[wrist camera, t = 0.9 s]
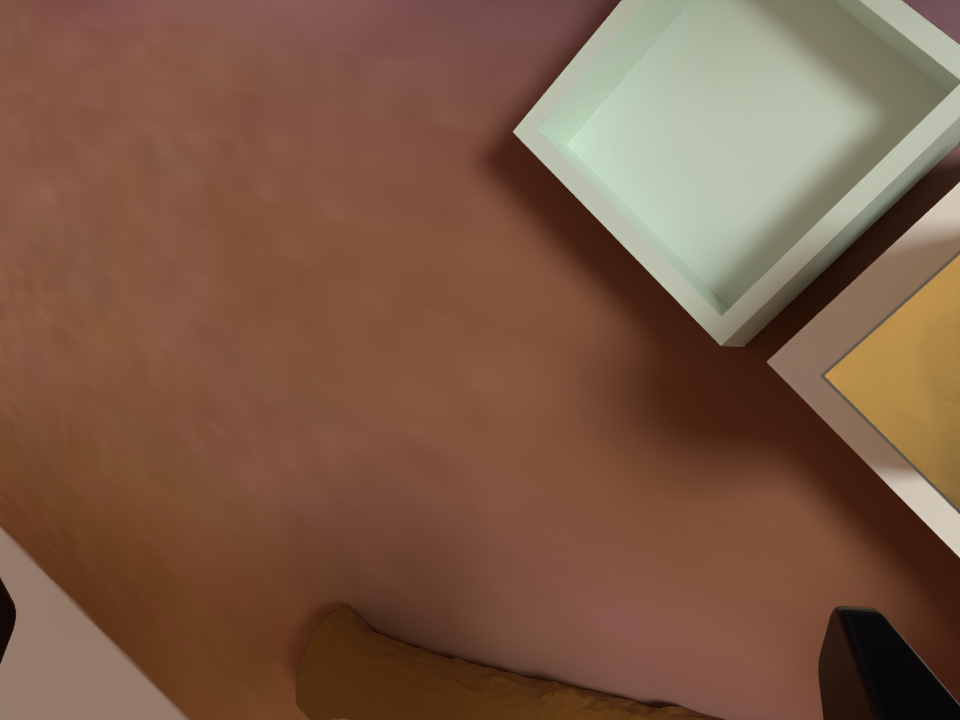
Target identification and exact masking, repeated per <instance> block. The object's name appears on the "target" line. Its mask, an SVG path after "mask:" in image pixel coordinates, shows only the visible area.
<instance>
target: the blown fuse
mask: <svg viewBox="0 0 960 720" xmlns="http://www.w3.org/2000/svg"><path fill="white" fill-rule="evenodd" d="M820 376H821V377H822V378H823V379H824V380H825V381H826V382H827V383H828V384H829V385H830V386H831V387H832V388H833V389H834V390H835V391H836V392H837V393H838V394H839V395H840V396H841V397H842V398H843V399H844V400H845V401H846V402H847V403H848V404H849V405H850V406H851V407H852V408H853V409H854V410H855V411H856V412H857V413H858V414H859V415H860V416H861V417H862V418H863V419H864V420H865V421H866V422H867V423H868V424H869V425H870V426H871V427H872V428H873V429H874V430H875V431H876V432H877V433H878V434H879V435H880V436H881V437H882V438H883V439H884V440H885V441H886V442H887V443H888V444H889V445H890V446H891V447H892V448H893V449H894V450H895V451H896V452H897V453H898V454H899V455H900V456H901V457H902V458H903V459H904V460H905V461H906V462H907V463H908V464H909V465H910V466H911V467H912V468H913V469H914V470H915V471H916V472H917V473H918V474H919V475H920V476H921V477H922V478H923V479H924V480H925V481H926V482H927V483H928V484H929V485H930V486H931V487H932V488H933V489H935V490H936V491H937V492H938V493H939V494H940V495H941V496H942V497H943V498H944V499H945V500H946V501H947V502H948V503H949V504H950V505H951V506H952V507H953V508H954V509H955V510H956V511H957V512H958V513H959V514H960V251H958V252H957V253H956V254H955V255H954V256H953V257H952V258H951V259H949V260H948V261H947V262H946V263H945V264H944V265H943V266H942V267H941V268H939V269H938V270H937V271H936V272H935V273H934V274H933V275H932V276H931V277H929V278H928V279H927V280H926V281H925V282H924V283H923V284H922V285H921V286H919V287H918V288H917V289H916V290H915V291H914V292H913V293H912V294H910V295H909V296H908V297H907V298H906V299H905V300H904V301H903V302H902V303H900V304H899V305H898V306H897V307H896V308H895V309H894V310H893V311H892V312H890V313H889V314H888V315H887V316H886V317H885V318H884V319H883V320H882V321H880V322H879V323H878V324H877V325H876V326H875V327H874V328H873V329H871V330H870V331H869V332H868V333H867V334H866V335H865V336H864V337H863V338H861V339H860V340H859V341H858V342H857V343H856V344H855V345H854V346H853V347H851V348H850V349H849V350H848V351H847V352H846V353H845V354H844V355H842V356H841V357H840V358H839V359H838V360H837V361H836V362H835V363H834V364H832V365H831V366H830V367H829V368H828V369H827V370H826V371H825V372H824V373H822V374H821V375H820Z"/></svg>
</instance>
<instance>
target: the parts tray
mask: <svg viewBox="0 0 960 720" xmlns="http://www.w3.org/2000/svg"><path fill="white" fill-rule="evenodd" d="M513 133H514V134H515V135H516V136H517V137H518V138H519V139H520V140H521V141H522V142H523V143H524V144H525V145H526V146H527V147H528V148H529V149H530V150H531V151H532V152H533V153H534V154H535V155H536V156H537V157H538V158H539V159H540V161H541V162H542V163H543V164H544V165H545V166H546V167H547V168H548V169H549V170H550V171H551V172H552V173H553V174H554V175H555V176H556V177H557V178H558V179H559V180H560V181H561V182H562V183H563V184H564V185H565V186H566V187H567V188H568V189H569V190H570V191H571V192H572V193H573V194H574V195H575V197H576V198H577V199H578V200H579V201H580V202H581V203H582V204H583V205H584V206H585V207H586V208H587V209H588V210H589V211H590V212H591V213H592V214H593V215H594V216H595V217H596V218H597V219H598V220H599V221H600V222H601V223H602V224H603V225H604V226H605V227H606V228H607V229H608V230H609V232H610V233H611V234H612V235H613V236H614V237H615V238H616V239H617V240H618V241H619V242H620V243H621V244H622V245H623V246H624V247H625V248H626V249H627V250H628V251H629V252H630V253H631V254H632V255H633V256H634V257H635V258H636V259H637V260H638V261H639V262H640V263H641V264H642V265H643V266H644V268H645V269H646V270H647V271H648V272H649V273H650V274H651V275H652V276H653V277H654V278H655V279H656V280H657V281H658V282H659V283H660V284H661V285H662V286H663V287H664V288H665V289H666V290H667V291H668V292H669V293H670V294H671V295H672V296H673V297H674V298H675V299H676V300H677V301H678V302H679V304H680V305H681V306H682V307H683V308H684V309H685V310H686V311H687V312H688V313H689V314H690V315H691V316H692V317H693V318H694V319H695V320H696V321H697V322H698V323H699V324H700V325H701V326H702V327H703V328H704V329H705V330H706V331H707V332H708V333H709V334H710V335H711V336H712V337H713V339H714V340H715V341H716V342H717V343H718V344H719V345H720V346H730V347H745V346H746V345H747V344H748V343H749V342H750V341H751V340H752V339H753V338H754V337H755V336H756V335H757V334H758V333H759V332H760V331H762V330H763V329H764V328H765V327H766V326H767V325H768V324H769V323H770V322H771V321H772V320H773V319H774V318H775V317H776V316H777V315H778V314H779V313H781V312H782V311H783V310H784V309H785V308H786V307H787V306H788V305H789V304H790V303H791V302H792V301H793V300H794V299H795V298H796V297H797V296H798V295H800V294H801V293H802V292H803V291H804V290H805V289H806V288H807V287H808V286H809V285H810V284H811V283H812V282H813V281H814V280H815V279H816V278H817V277H818V276H820V275H821V274H822V273H823V272H824V271H825V270H826V269H827V268H828V267H829V266H830V265H831V264H832V263H833V262H834V261H835V260H836V259H837V258H839V257H840V256H841V255H842V254H843V253H844V252H845V251H846V250H847V249H848V248H849V247H850V246H851V245H852V244H853V243H854V242H855V241H856V240H858V239H859V238H860V237H861V236H862V235H863V234H864V233H865V232H866V231H867V230H868V229H869V228H870V227H871V226H872V225H873V224H874V223H875V222H877V221H878V220H879V219H880V218H881V217H882V216H883V215H884V214H885V213H886V212H887V211H888V210H889V209H890V208H891V207H892V206H893V205H894V204H895V203H897V202H898V201H899V200H900V199H901V198H902V197H903V196H904V195H905V194H906V193H907V192H908V191H909V190H910V189H911V188H912V187H913V186H914V185H916V184H917V183H918V182H919V181H920V180H921V179H922V178H923V177H924V176H925V175H926V174H927V173H928V172H929V171H930V170H931V169H932V168H933V167H935V166H936V165H937V164H938V163H939V162H940V161H941V160H942V159H943V158H944V157H945V156H946V155H947V154H948V153H949V152H950V151H951V150H952V149H954V148H955V147H956V146H957V145H958V144H959V143H960V45H959V44H957V43H956V42H955V41H953V40H952V39H951V38H950V37H948V36H947V35H946V34H944V33H943V32H942V31H941V30H939V29H938V28H937V27H935V26H934V25H933V24H931V23H930V22H929V21H928V20H926V19H925V18H924V17H922V16H921V15H920V14H919V13H917V12H916V11H915V10H913V9H912V8H911V7H909V6H908V5H907V4H906V3H904V2H903V1H902V0H621V2H620V3H619V4H618V5H617V6H616V8H615V9H614V10H613V11H612V13H611V14H610V15H609V16H608V17H607V19H606V20H605V21H604V22H603V23H602V25H601V26H600V27H599V28H598V29H597V31H596V32H595V33H594V34H593V35H592V37H591V38H590V39H589V40H588V42H587V43H586V44H585V45H584V46H583V48H582V49H581V50H580V51H579V52H578V54H577V55H576V56H575V57H574V58H573V60H572V61H571V62H570V63H569V64H568V66H567V67H566V68H565V69H564V71H563V72H562V73H561V74H560V75H559V77H558V78H557V79H556V80H555V81H554V83H553V84H552V85H551V86H550V87H549V89H548V90H547V91H546V92H545V94H544V95H543V96H542V97H541V98H540V100H539V101H538V102H537V103H536V104H535V106H534V107H533V108H532V109H531V110H530V112H529V113H528V114H527V115H526V116H525V118H524V119H523V120H522V121H521V123H520V124H519V125H518V126H517V127H516V129H515V130H514V131H513Z"/></svg>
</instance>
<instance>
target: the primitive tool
mask: <svg viewBox="0 0 960 720" xmlns="http://www.w3.org/2000/svg"><path fill="white" fill-rule="evenodd" d="M296 703H297V706H298V708H299V709H300V710H301V711H302V712H303V713H304V714H305V715H306V716H307V718H309V719H311V720H329V719H333V718H337V719H340V718H348V719H352V720H722V719H719V718H715V717H710V716H705V715H701V714H699V713H696V712H694V711H691V710H688V709H686V708H683V707H681V706H667V707H663V708H656V707H652V706H649V705H646V704H642V703H639V702H636V701H633V700H628V699H623V698H619V697H614V696H610V695H607V694H603V693H600V692H597V691H591V690H585V689H580V688H577V687H573V686H570V685H566V684H560V683H558V682H556V681H553V682H552V681H547V680H539V679H534V678H530V677H524V676H521V675H518V674H516V673H509V672H503V671H500V670H497V669H495V668H492V667H482V666H480V665H478V664H473V663H468V662H466V661H464V660H462V659H460V658H456V659H450V658H445V657H444V656H442V655H438V654H434V653H431V652H429V651H428V650H426V649H424V648H416V647H413V646H410V645H407V644H404V643H402V642H400V641H398V640H395V639H392V638H389V637H386V636H384V635H382V634H379V633H375V632H374V631H373V629H372V628H371V626H370V625H369V624H368V623H367V622H365V621H364V620H363V619H362V618H361V617H360V615H359V614H358V613H357V612H356V611H355V610H354V609H353V608H352V607H351V606H342V607H340V608H338V609H336V610H334V611H332V612H330V613H329V614H328V615H327V616H326V617H325V618H324V619H323V620H322V621H321V622H320V623H319V624H318V626H317V628H316V630H315V631H314V633H313V635H312V637H311V638H310V640H309V642H308V644H307V646H306V648H305V650H304V652H303V654H302V657H301V661H300V664H299V668H298V671H297V678H296Z"/></svg>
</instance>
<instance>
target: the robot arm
mask: <svg viewBox="0 0 960 720" xmlns="http://www.w3.org/2000/svg"><path fill="white" fill-rule="evenodd" d="M15 620H16V609H15V605H14V602H13V600H12V598H11V597H10V595H9V593H8V591H7V589H6V587H5V586H4V584H3V582H2V580H1V578H0V663H1V661H2V658H3V655H4V653H5V650H6V647H7V645H8V642H9V640H10V637H11V634H12V632H13V629H14V625H15ZM818 672H819V685H820V693H821V701H822V710H823V718H824V720H960V704H959V703H958V701H957V700H956V699H955V698H954V697H953V696H952V694H951V693H950V692H949V691H948V690H947V688H946V687H945V686H944V685H943V684H942V683H941V681H940V680H939V679H938V678H937V677H936V675H935V674H934V673H933V672H932V671H931V670H930V668H929V667H928V666H927V665H926V664H925V662H924V661H923V660H922V659H921V658H920V657H919V655H918V654H917V653H916V652H915V651H914V649H913V648H912V647H911V646H910V645H909V644H908V642H907V641H906V640H905V639H904V638H903V636H902V635H901V634H900V633H899V632H898V631H897V629H896V628H895V627H894V626H893V625H892V623H891V622H890V621H889V620H888V619H887V618H886V616H885V615H884V614H883V613H881V612H880V611H879V610H877V609H875V608H870V607H852V606H838V607H836V608H835V609H834V610H833V612H832V613H831V616H830V620H829V623H828V627H827V630H826V634H825V638H824V641H823V645H822V649H821V652H820V656H819V667H818Z"/></svg>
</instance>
